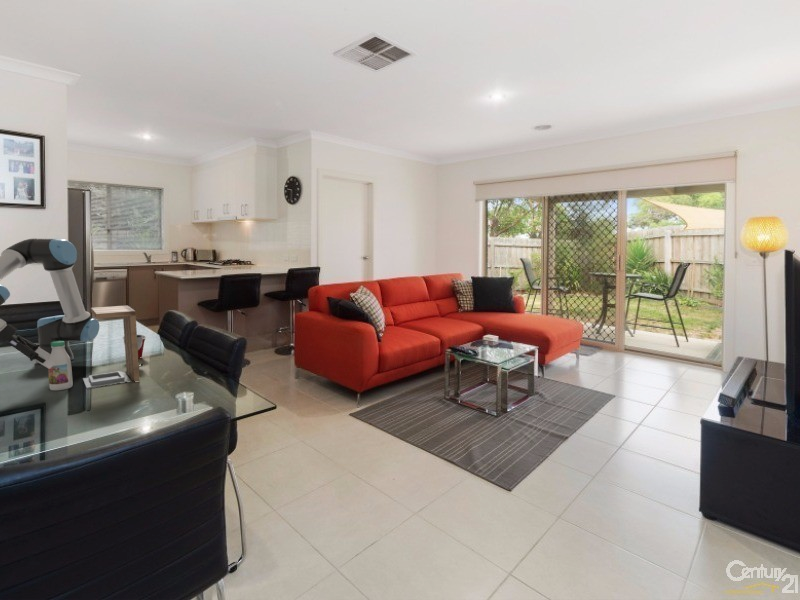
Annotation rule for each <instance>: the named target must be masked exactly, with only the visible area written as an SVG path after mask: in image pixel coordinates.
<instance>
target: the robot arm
mask: <svg viewBox="0 0 800 600" xmlns="http://www.w3.org/2000/svg"><path fill="white" fill-rule="evenodd" d="M77 256H78V252H77V249H76V247H75V245H74V243H72V242H70V241H69V240H68V239H64V238H63V239H60V238H28V239H23V240H21V241H19V242H16V243H15V244H13V245H11V246H9V247H7V248H6V249H4V250H2V252H1V254H0V281H2V280H3V279H5V278H6V277H7V276H9V275H10V274H11V273H12V272H14V271H15V270H17V269H22V268H23V267H25V266H27V265H31V264H39V265H40V264H42V266H43V269H44V271H45V272H49V274H50V277H51V279H52V283H53V286H54V288H55V291H56V294H57V297H58V300H59V303H60V306H61V309H62V311H63V314H60V315H54V316H47V317H42V318H39V319H37V322H36V323H37V325H36V326H37V327H36V329H37V336H38V337H37V338H38V344H37V343H33V342H32V341H30V340H28V339H26V338H24V337H23V336H21V335H19V334H18V333H17V332H18V329H17V327H15V326H13V325H12V324H9V323H7V321H5V320H4V319H2V318H0V345H3V344H4V343H6V341H7V342H8V345H9V346H12V348H14V349H15V350H17V351H19V352H20V353H22V354H23V355H25V357H27V358H28V359H29V361H31V362H33V361H35V363H36V364H37V363H39V364H38V365H41V366H44V367H45V368H47V369H50V368H51V367H52V366H53V365H54V364H55V363H54V362H52V361H51V360H49V357H50V355H51V352H52V348H51V342H54V341H65V350H66V352H67V354H68V355H69V357H70V360H71V361H72V360H74V359H75V358H74V353H73V352H72V349H71V347H70V345H69V342H91V341H93V340H95V339H96V337H97V336H98V334H99V331H100V321H99V320H98V319H97V318H92V316H91V313H90V312H89V311H86V309H85V305H84V303H83V300H82V297H81V293H80V291H79V290H80V289H79V286H78V284H77V281H76V277H75V274H74V272H73V268H74V266H75V262H76V261H77V260H78V257H77ZM10 297H11V293H10V291H9V289H8V288H7V287H6V286H4V285H2V284H0V306H2V305H3V304H5V303H6V301H7V300H8V299H9V298H10Z"/></svg>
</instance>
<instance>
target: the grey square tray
mask: <svg viewBox="0 0 800 600" xmlns="http://www.w3.org/2000/svg"><path fill="white" fill-rule="evenodd" d="M129 377H130V376H129V375H128V374H127V372H125V371H124V372H122V371H121V370H117V371H111V372H104V373H98V374H97V373H96V374H91V375H88V377H83V378H82V381H83V383H84V386H85V389H86V390H89V389H95V388H96V387H97V388H102V387H101V386H103V387H106V386H105V385H109V386H111V385H110V384H115V383H120V382H127V381H131V382H132V379H131V378H129ZM127 383H128V382H127ZM115 385H116V384H115Z"/></svg>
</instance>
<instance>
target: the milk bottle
mask: <svg viewBox="0 0 800 600" xmlns="http://www.w3.org/2000/svg"><path fill="white" fill-rule="evenodd" d="M51 348H52V352H51V355H50V357H49V360H51V361H52V362H54V363H55V364H54V365H53V366H52V367H51V368H50V369H48V368H47V369H48V371H47V373H48V382H49V383H48V384H49V385H48V386H49V389H50V391H64V390H68V389H71V388H72V387H73V383H74V382H73V371H72V360H70V357H69V355H68V354H67V352H66V350H65V341H54V342H51Z"/></svg>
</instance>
